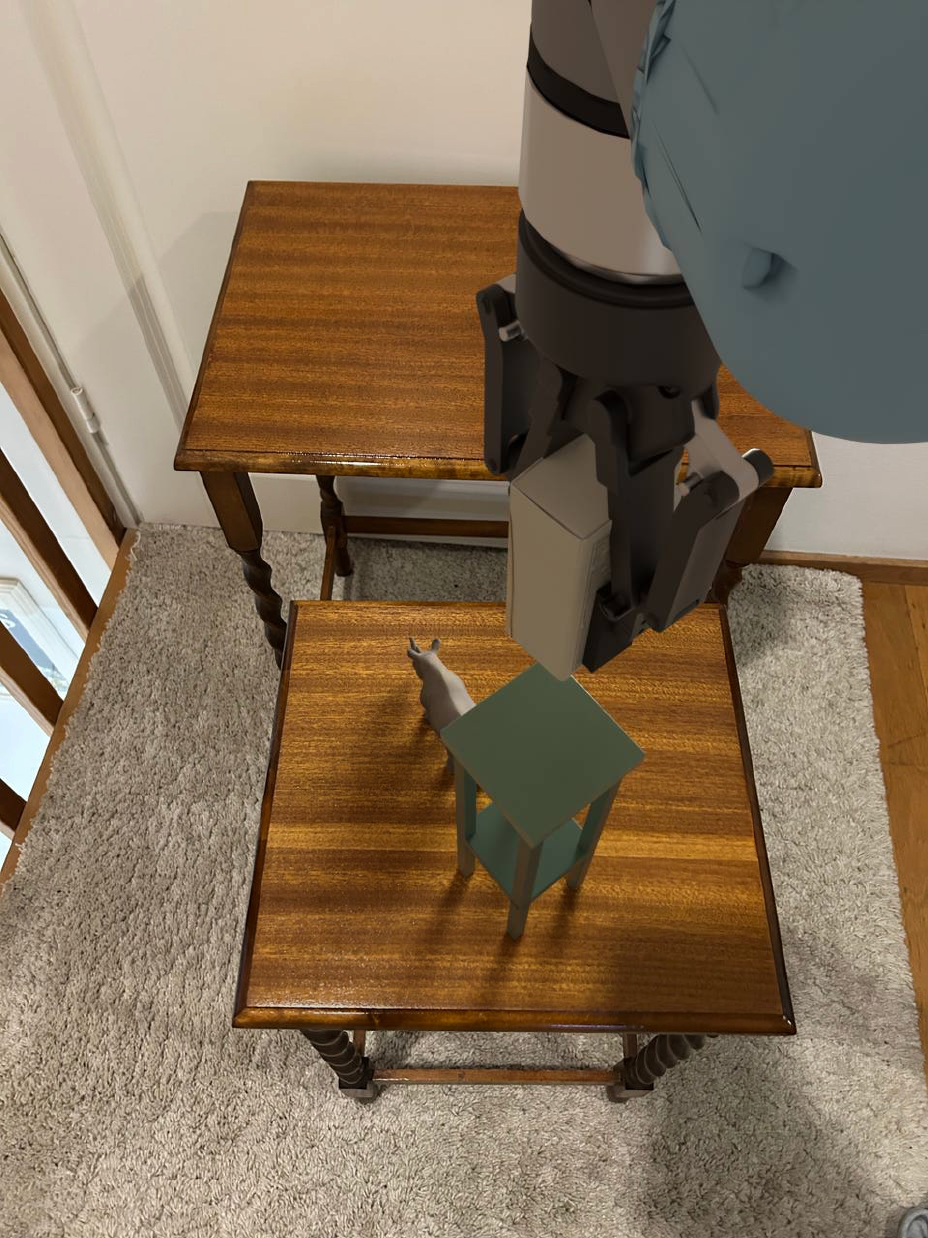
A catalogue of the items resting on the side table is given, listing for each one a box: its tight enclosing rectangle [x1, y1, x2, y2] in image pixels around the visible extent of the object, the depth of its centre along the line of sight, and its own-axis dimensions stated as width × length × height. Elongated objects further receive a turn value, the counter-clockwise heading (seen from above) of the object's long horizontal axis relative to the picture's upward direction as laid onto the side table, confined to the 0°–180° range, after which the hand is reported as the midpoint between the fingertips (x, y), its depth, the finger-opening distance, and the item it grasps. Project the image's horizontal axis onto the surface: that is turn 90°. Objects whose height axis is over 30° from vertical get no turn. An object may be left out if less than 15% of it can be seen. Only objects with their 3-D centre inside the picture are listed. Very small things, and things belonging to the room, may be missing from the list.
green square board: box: [440, 661, 646, 849], centre depth 52 cm, size 8×8×1 cm
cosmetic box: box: [504, 433, 683, 681], centre depth 43 cm, size 6×4×12 cm
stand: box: [453, 756, 624, 941], centre depth 62 cm, size 7×7×25 cm
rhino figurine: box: [406, 635, 477, 774], centre depth 78 cm, size 4×14×6 cm, turn 25°
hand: (572, 618), depth 48 cm, fingers closed on cosmetic box, 5 cm apart
